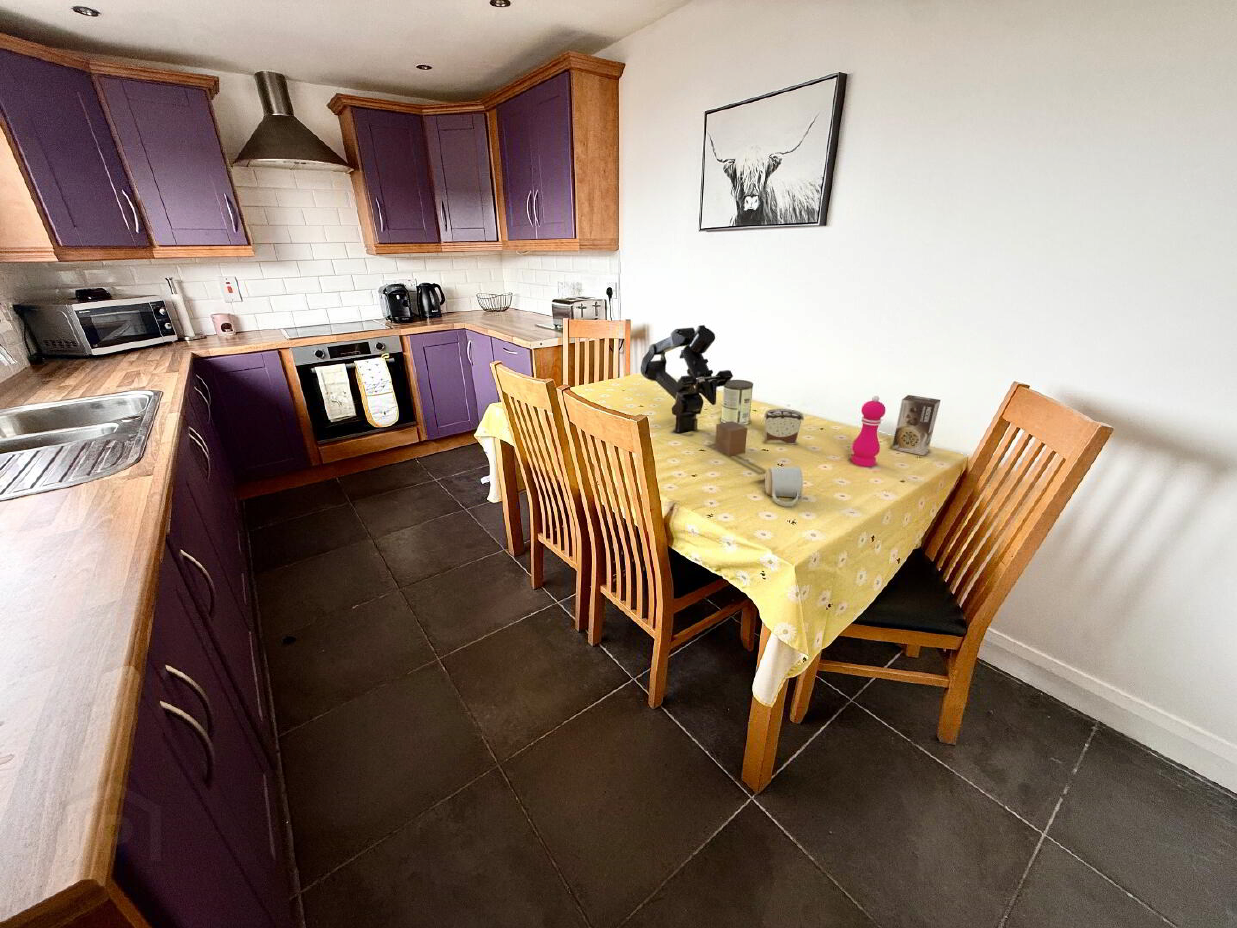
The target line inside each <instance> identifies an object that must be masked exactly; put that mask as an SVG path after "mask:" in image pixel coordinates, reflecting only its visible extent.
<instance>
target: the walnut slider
mask: <svg viewBox="0 0 1237 928" xmlns="http://www.w3.org/2000/svg"><path fill="white" fill-rule="evenodd" d="M747 436H748V427H746V426H745V425H743V424H741V423H735V422H733V421H731V422H725V423H723V422H721V423H716V426H715V439H714V440H715V441H714V449H715V450H716V451H718V452H719V453H722V454H724V455H726V456H727V457H733V456H737V455H742V454H745V453H746V447H747V438H748V437H747Z"/></svg>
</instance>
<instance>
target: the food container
mask: <svg viewBox="0 0 1237 928" xmlns="http://www.w3.org/2000/svg"><path fill="white" fill-rule="evenodd" d="M804 419H805V418H804V414H803V413H802V412H801V411H798V410H794V409H789V408H772V409H768V410H766V412H765V413H764V416H763V420H765V434H764V435H765V440H766V441H780V442H783V443H786V444H788V445H796V444H797V441H798V436H799V433H800V429H801V425H802V421H803V422H804V421H805V420H804Z"/></svg>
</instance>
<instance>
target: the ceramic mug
mask: <svg viewBox="0 0 1237 928" xmlns="http://www.w3.org/2000/svg"><path fill="white" fill-rule="evenodd" d="M764 486H765V493H766V494H767V495H768V496H771V497H772V499H773V501H774V503H776V504H777V505H779V506H781V507H786V508H788V507H793V506H795V505H796V503H797V502H798V500H799V498H800V497H801V496H802V493H803V488H804V487H803V486H804V479H803V472H802V468H801V467H800V466H783V467H782V466H778V467H777V466H775V467H769V468H767V469H766V471H765V476H764ZM778 497H781V498H783V497H784V498H794V499H793V500H791V501H782V500H781V499H779V498H778Z"/></svg>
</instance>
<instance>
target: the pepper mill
mask: <svg viewBox="0 0 1237 928" xmlns="http://www.w3.org/2000/svg"><path fill="white" fill-rule="evenodd" d="M860 412H861V414H862V415H863V416H862V417H861V421H860V422H861V424H862V426H861V430H860V432H859V433H858V436H857V437H856V438H855V440H853V443H852V446H851V451H852V452H853V454H852V455H851V462H852V463H853V464H854V465H857V466H860V467H873V466H875V465H876V461H877V458H876V456H877V455H879V453H880V450H881V446H880V442H879V438H878V428H879V426H880V425H881V424H882V418H883V417H884V416H885V414H886V406H885V404H884V403H882V401H881V402H880V397H879V396H878V395H874V396H872V398H871V400H869V401H866V402H865V403H864V404H863V405H862V407H861V411H860Z"/></svg>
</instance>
